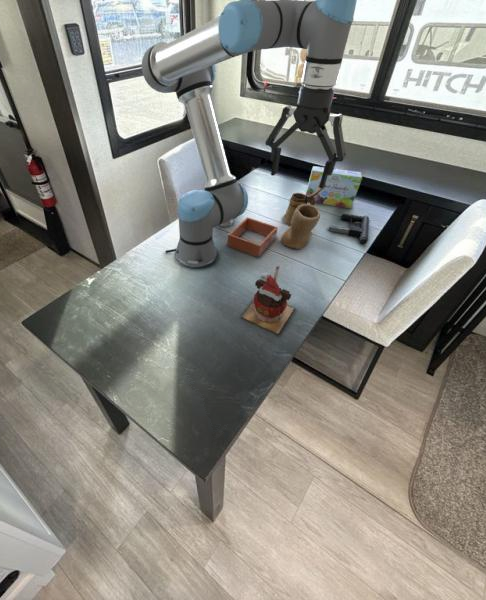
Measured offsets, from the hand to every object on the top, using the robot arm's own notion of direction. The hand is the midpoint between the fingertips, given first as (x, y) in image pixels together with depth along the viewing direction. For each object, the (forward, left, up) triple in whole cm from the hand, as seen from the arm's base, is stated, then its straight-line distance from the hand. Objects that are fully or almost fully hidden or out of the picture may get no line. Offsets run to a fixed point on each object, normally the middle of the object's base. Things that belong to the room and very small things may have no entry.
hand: (297, 179), depth 84 cm
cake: (+5, -17, -34) cm, 39 cm away
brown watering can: (-7, +40, -35) cm, 54 cm away
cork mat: (+5, -17, -35) cm, 39 cm away
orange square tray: (-17, +15, -35) cm, 41 cm away
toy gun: (+13, +46, -35) cm, 59 cm away
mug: (-34, +23, -35) cm, 54 cm away
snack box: (-2, +64, -35) cm, 73 cm away
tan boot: (-2, +26, -35) cm, 44 cm away
